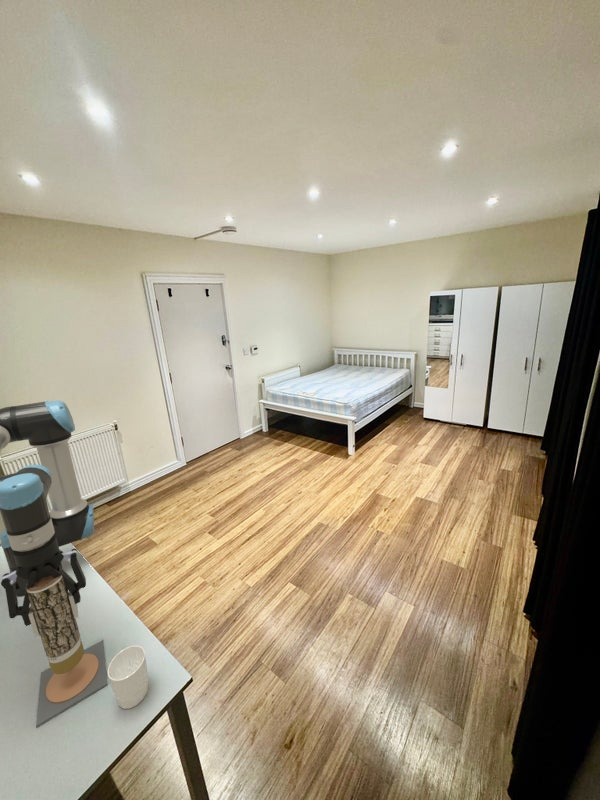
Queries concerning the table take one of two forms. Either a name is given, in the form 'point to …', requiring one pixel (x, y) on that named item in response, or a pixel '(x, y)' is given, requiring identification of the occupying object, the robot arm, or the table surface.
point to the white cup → (129, 676)
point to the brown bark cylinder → (56, 623)
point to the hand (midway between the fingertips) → (57, 622)
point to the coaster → (71, 684)
